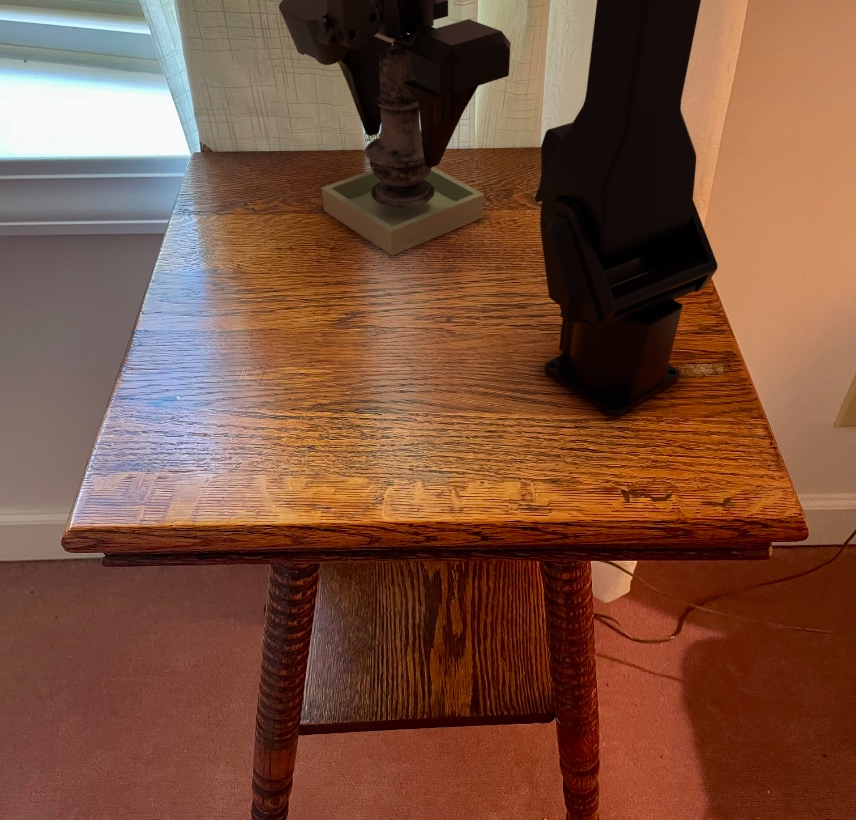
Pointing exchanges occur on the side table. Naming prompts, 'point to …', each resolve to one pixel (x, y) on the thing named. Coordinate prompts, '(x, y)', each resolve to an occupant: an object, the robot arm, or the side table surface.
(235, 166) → the side table surface
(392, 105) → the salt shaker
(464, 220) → the tray
